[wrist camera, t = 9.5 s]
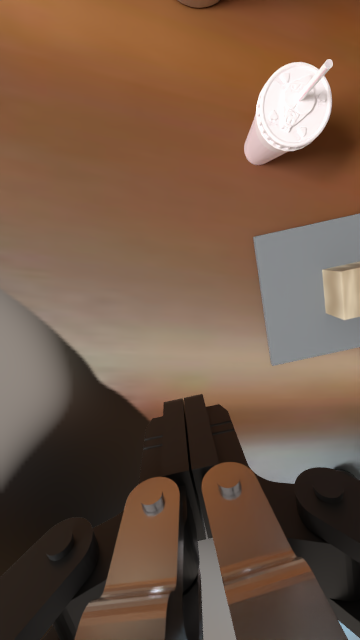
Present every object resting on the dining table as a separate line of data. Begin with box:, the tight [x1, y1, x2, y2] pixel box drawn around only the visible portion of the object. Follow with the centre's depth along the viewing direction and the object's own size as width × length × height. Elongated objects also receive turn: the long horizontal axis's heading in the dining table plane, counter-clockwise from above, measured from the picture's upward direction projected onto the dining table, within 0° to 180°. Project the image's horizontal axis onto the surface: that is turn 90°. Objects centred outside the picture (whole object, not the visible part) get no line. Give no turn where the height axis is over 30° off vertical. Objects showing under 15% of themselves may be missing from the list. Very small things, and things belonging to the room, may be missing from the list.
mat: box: [253, 214, 360, 366], centre depth 37 cm, size 24×18×1 cm
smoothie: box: [244, 59, 333, 165], centre depth 26 cm, size 6×6×14 cm
